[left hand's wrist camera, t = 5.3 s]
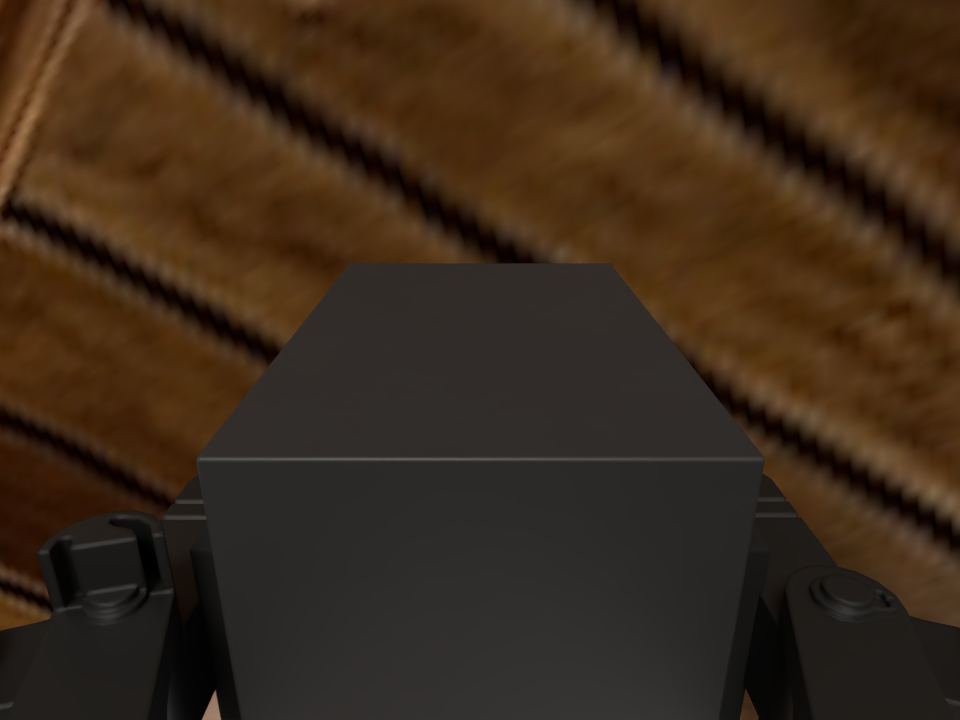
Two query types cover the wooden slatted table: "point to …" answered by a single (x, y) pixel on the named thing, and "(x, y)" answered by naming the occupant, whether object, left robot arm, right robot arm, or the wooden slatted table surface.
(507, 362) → the bar
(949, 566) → the wooden slatted table surface
